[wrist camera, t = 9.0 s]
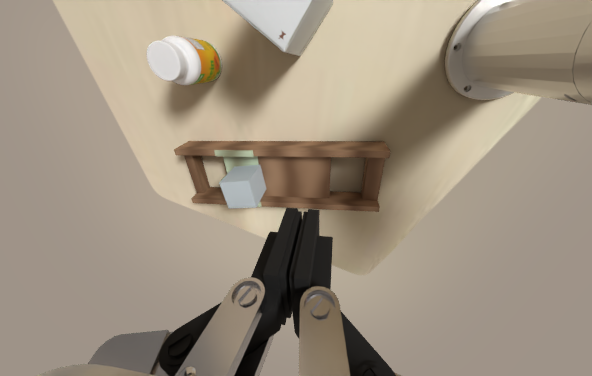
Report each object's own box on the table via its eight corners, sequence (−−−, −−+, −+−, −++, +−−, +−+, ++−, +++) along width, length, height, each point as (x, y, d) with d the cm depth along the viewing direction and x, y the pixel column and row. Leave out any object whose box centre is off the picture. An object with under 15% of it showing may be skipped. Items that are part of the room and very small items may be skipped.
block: (260, 164, 37) (248, 180, 32) (266, 188, 39) (256, 207, 34) (234, 166, 38) (219, 182, 33) (241, 190, 41) (228, 208, 35)
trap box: (383, 141, 34) (390, 152, 30) (374, 197, 40) (379, 212, 36) (189, 141, 39) (172, 150, 35) (204, 190, 45) (192, 203, 41)
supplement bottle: (215, 88, 34) (179, 97, 26) (185, 67, 33) (136, 69, 25) (228, 55, 31) (191, 53, 23) (195, 31, 30) (144, 20, 22)
